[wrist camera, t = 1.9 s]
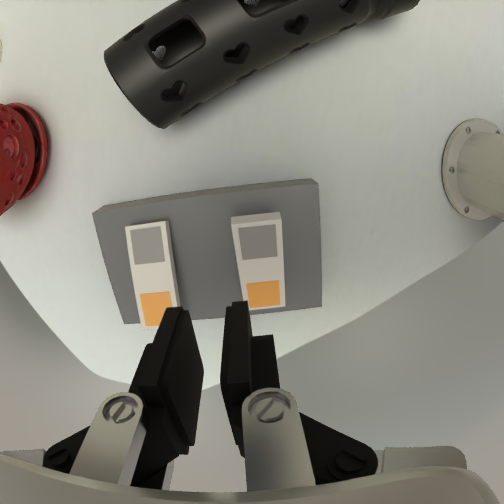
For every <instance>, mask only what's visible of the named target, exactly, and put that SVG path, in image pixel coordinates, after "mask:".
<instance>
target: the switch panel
mask: <svg viewBox="0 0 504 504" xmlns="http://www.w3.org/2000/svg"><path fill="white" fill-rule="evenodd" d="M272 212H280V215H281V220H282V238H283V259H284V282H285V307H276V308H267V309H258V310H249V313H250V315H255V314H264V313H273V312H282V311H291V310H299V309H307V308H315V307H322V269H321V232H320V208H319V189H318V183H317V182H315V181H314V180H313V179H301V180H290V181H279V182H268V183H259V184H249V185H241V186H232V187H224V188H216V189H208V190H200V191H193V192H186V193H179V194H172V195H166V196H159V197H153V198H147V199H140V200H135V201H129V202H123V203H117V204H112V205H106V206H103V207H101V208H100V209H98V210H97V211H95V212H93V213H92V215H93V219H94V223H95V227H96V232H97V236H98V239H99V243H100V247H101V251H102V255H103V258H104V262H105V265H106V269H107V272H108V276H109V279H110V282H111V285H112V289H113V292H114V295H115V298H116V301H117V304H118V307H119V310H120V313H121V316H122V319H123V322H124V324H135V323H141V322H140V317H139V312H138V307H137V302H136V296H135V291H134V285H133V279H132V273H131V267H130V260H129V253H128V246H127V239H126V231H125V227H127V226H133V225H140V224H147V223H154V222H161V221H169V227H170V236H171V243H172V251H173V258H174V266H175V272H176V279H177V286H178V292H179V298H180V304H181V306H182V307H183V309H184V310H188V311H189V313H190V317H191V320H199V319H212V318H224V317H225V314H226V307H227V306H232V302H236V301H243V295H242V289H241V283H240V277H239V271H238V265H237V259H236V253H235V246H234V240H233V234H232V228H231V217H235V216H244V215H253V214H262V213H272Z"/></svg>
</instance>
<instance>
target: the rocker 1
mask: <svg viewBox="0 0 504 504" xmlns="http://www.w3.org/2000/svg"><path fill="white" fill-rule="evenodd" d="M125 231H126V239H127V246H128V253H129V260H130V267H131V273H132V279H133V285H134V291H135V296H136V302H137V307H138V312H139V317H140V322H141V327H142V330H157V329H158V328H159V325H160V322H161V320H162V317H163V315H164V312H165V310H166V308H167V307H179V306H181V304H180V298H179V292H178V286H177V279H176V272H175V266H174V258H173V251H172V243H171V236H170V227H169V221H161V222H154V223H147V224H140V225H133V226H127V227H125Z"/></svg>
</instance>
